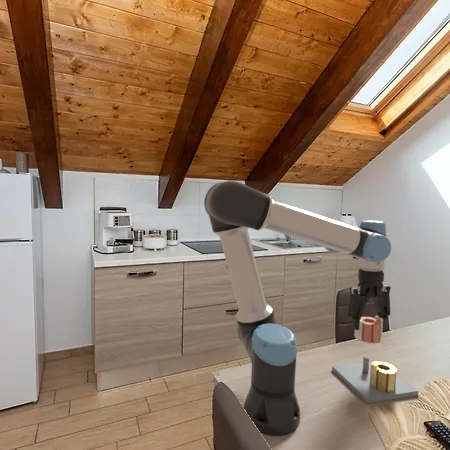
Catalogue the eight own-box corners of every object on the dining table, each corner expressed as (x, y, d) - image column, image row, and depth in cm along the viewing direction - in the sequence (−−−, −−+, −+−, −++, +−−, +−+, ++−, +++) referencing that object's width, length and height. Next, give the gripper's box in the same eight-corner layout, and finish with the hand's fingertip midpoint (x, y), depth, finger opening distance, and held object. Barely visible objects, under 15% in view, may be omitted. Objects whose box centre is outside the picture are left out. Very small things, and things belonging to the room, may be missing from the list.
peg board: (366, 403, 93) (367, 381, 92) (331, 370, 110) (333, 352, 110) (418, 395, 97) (419, 375, 96) (376, 365, 114) (378, 347, 114)
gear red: (352, 335, 107) (353, 317, 107) (370, 333, 109) (371, 315, 108) (366, 344, 100) (367, 325, 100) (385, 341, 102) (386, 323, 102)
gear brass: (380, 393, 95) (382, 374, 94) (365, 380, 102) (366, 362, 101) (400, 391, 97) (402, 372, 96) (384, 378, 103) (385, 360, 103)
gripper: (351, 273, 97) (348, 346, 99) (406, 269, 102) (402, 339, 104) (337, 267, 104) (334, 335, 106) (388, 264, 109) (385, 329, 111)
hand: (368, 337), depth 105 cm, fingers closed on gear red, 7 cm apart
